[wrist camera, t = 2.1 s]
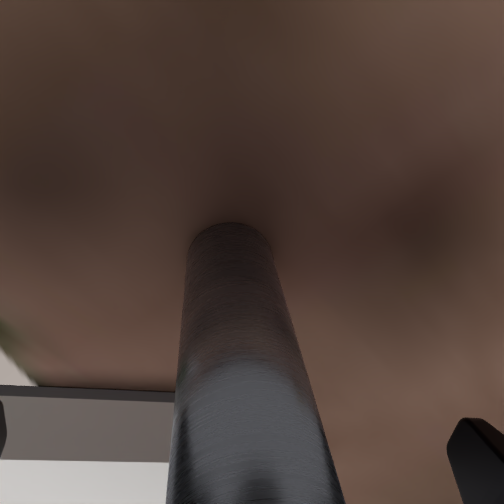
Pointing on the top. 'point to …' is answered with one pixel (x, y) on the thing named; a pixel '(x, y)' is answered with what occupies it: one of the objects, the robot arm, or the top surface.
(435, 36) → the top surface
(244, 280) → the steel pin
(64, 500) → the bore board
